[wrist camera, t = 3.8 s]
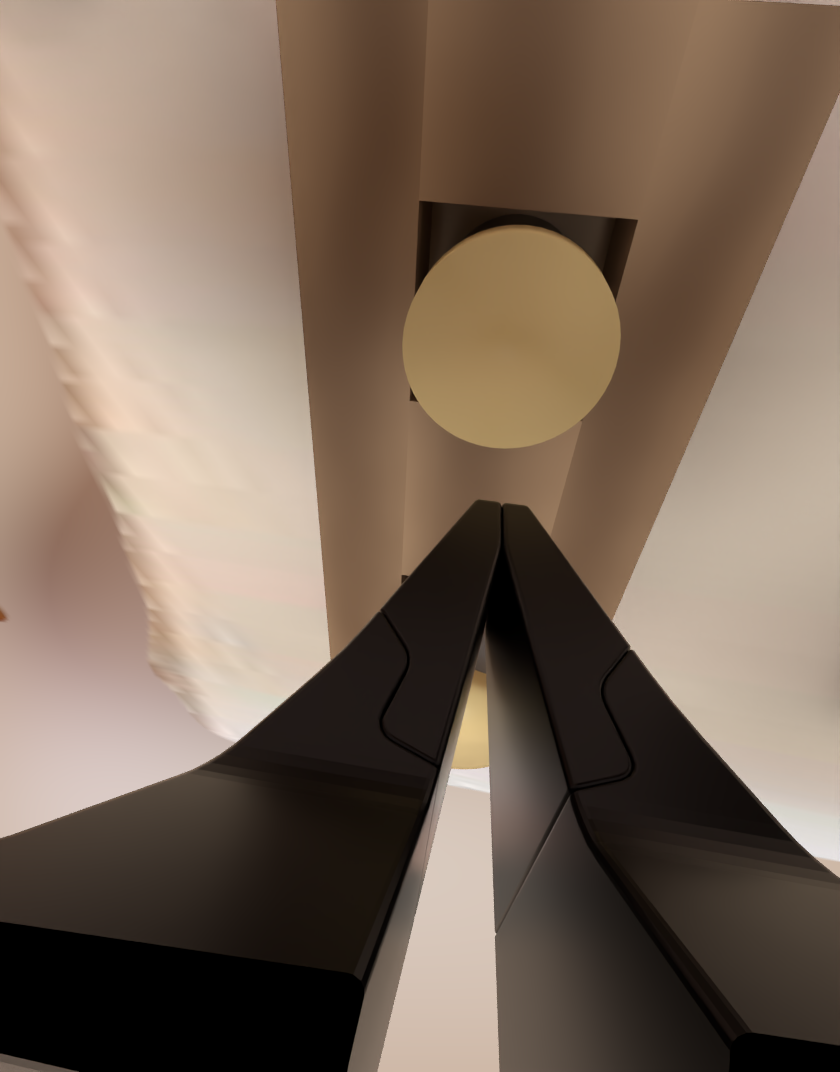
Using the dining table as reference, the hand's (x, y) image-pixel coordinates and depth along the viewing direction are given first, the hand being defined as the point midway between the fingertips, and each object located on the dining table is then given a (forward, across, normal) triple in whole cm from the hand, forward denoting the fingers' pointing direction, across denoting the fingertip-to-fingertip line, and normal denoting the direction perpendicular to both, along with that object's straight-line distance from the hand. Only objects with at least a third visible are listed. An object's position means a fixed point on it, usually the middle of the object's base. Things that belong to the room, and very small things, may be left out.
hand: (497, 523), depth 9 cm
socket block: (+12, 0, +6) cm, 13 cm away
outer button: (+11, 0, -1) cm, 11 cm away
